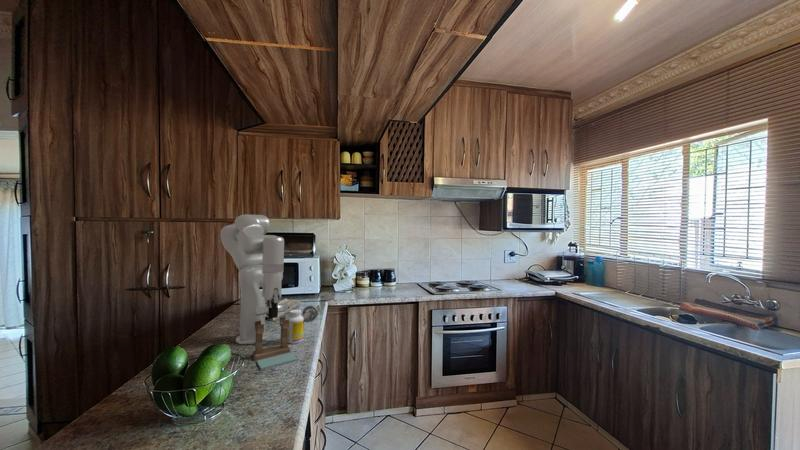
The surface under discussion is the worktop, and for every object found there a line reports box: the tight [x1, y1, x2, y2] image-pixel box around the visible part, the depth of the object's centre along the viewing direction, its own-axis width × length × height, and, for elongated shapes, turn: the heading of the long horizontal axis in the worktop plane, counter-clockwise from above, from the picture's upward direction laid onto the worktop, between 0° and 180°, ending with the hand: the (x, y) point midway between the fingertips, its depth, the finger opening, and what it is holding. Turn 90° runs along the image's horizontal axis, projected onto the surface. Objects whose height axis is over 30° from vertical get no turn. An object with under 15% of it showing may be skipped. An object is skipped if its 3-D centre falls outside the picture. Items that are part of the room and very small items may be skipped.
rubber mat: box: [256, 351, 298, 371], centre depth 102 cm, size 7×12×1 cm, turn 128°
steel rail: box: [255, 303, 288, 316], centre depth 109 cm, size 11×3×3 cm, turn 128°
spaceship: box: [301, 304, 322, 322], centre depth 147 cm, size 8×35×8 cm
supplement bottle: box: [286, 308, 305, 345], centre depth 121 cm, size 7×7×13 cm
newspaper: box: [265, 297, 302, 321], centre depth 165 cm, size 35×12×4 cm, turn 176°
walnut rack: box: [252, 315, 291, 362], centre depth 109 cm, size 6×12×12 cm, turn 128°
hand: (271, 316), depth 109 cm, fingers closed on steel rail, 3 cm apart
